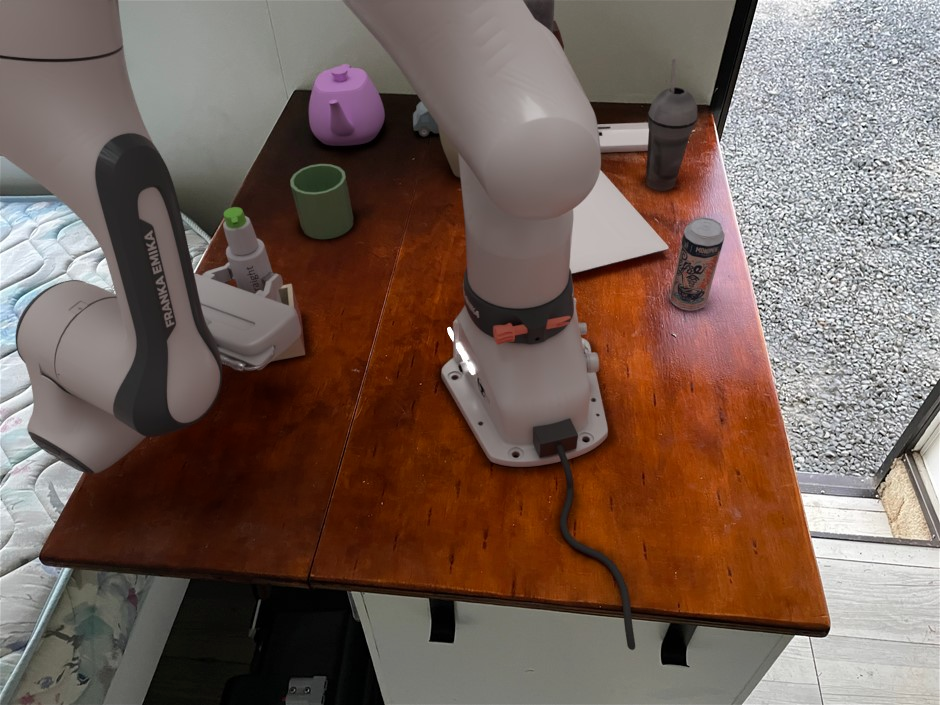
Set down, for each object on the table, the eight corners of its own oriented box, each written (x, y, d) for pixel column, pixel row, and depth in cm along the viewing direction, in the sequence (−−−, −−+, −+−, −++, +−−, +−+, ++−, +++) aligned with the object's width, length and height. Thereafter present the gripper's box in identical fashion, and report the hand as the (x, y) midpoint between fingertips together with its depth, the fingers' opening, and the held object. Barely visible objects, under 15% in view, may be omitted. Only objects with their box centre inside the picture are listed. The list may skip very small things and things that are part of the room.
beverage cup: (683, 197, 111) (710, 72, 96) (636, 194, 112) (655, 69, 97) (683, 172, 115) (708, 49, 101) (638, 169, 117) (656, 47, 102)
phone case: (580, 153, 121) (669, 150, 120) (581, 146, 120) (670, 143, 119) (575, 132, 126) (660, 128, 125) (576, 124, 125) (662, 121, 124)
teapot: (319, 110, 135) (306, 48, 126) (389, 107, 135) (381, 45, 126) (305, 167, 121) (290, 102, 112) (383, 163, 121) (374, 98, 112)
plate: (520, 296, 96) (521, 285, 94) (467, 207, 111) (467, 196, 109) (667, 258, 100) (670, 246, 99) (597, 178, 115) (599, 166, 114)
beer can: (666, 308, 93) (682, 234, 85) (672, 285, 96) (688, 212, 88) (703, 316, 92) (723, 242, 83) (708, 293, 95) (728, 219, 86)
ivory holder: (305, 355, 90) (295, 320, 85) (247, 366, 89) (234, 331, 84) (301, 317, 95) (291, 283, 90) (246, 327, 94) (234, 293, 89)
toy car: (470, 134, 126) (469, 108, 123) (414, 137, 126) (411, 111, 123) (468, 116, 131) (467, 91, 127) (414, 119, 131) (412, 94, 127)
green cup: (356, 234, 107) (348, 188, 101) (303, 243, 106) (292, 197, 100) (350, 205, 113) (342, 160, 107) (300, 213, 111) (288, 168, 106)
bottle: (255, 353, 90) (207, 224, 76) (262, 329, 93) (218, 201, 79) (289, 352, 90) (248, 223, 76) (295, 328, 93) (257, 200, 79)
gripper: (245, 355, 70) (325, 273, 79) (97, 298, 77) (185, 228, 85) (261, 396, 75) (335, 315, 83) (120, 339, 82) (201, 269, 90)
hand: (258, 271), depth 84 cm, fingers closed on bottle, 4 cm apart
